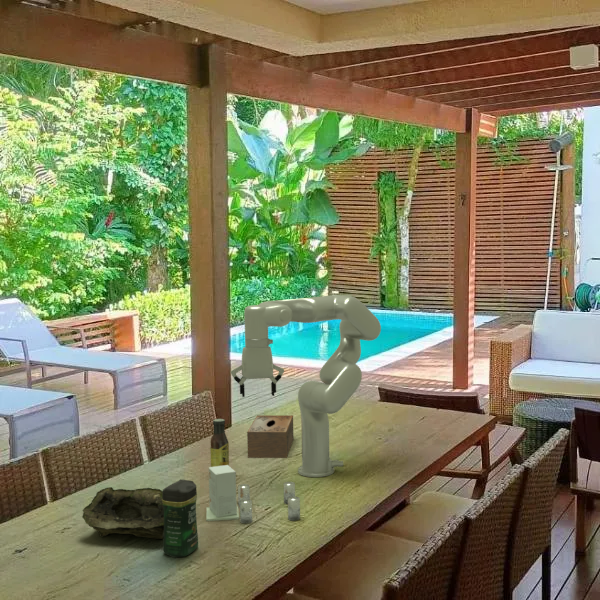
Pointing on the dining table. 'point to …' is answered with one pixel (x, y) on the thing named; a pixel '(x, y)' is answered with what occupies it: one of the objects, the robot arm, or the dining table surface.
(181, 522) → the coffee jar
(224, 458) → the sauce bottle
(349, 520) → the dining table surface
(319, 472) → the robot arm
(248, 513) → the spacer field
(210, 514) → the sage mat
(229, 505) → the small box
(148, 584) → the dining table surface
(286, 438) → the tissue box cover
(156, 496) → the hollow geode rock
